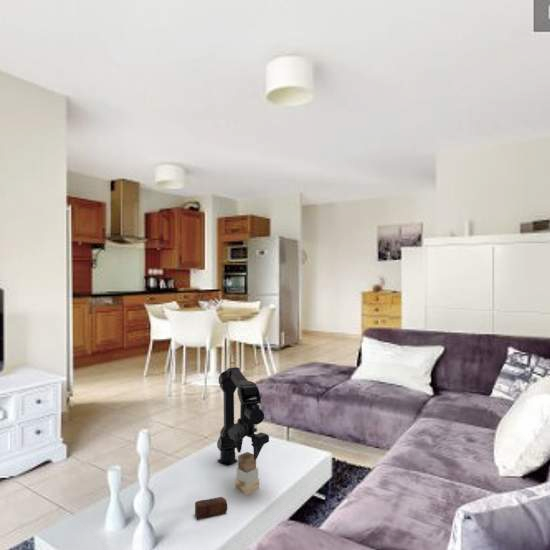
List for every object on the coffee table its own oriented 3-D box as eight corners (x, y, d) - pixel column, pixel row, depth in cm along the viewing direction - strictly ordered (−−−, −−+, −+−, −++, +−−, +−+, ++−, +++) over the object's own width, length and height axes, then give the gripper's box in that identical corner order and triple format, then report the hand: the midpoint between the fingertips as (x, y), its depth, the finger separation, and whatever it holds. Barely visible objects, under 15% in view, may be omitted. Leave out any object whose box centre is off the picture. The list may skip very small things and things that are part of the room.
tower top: (236, 478, 162) (236, 468, 162) (247, 473, 167) (247, 463, 167) (247, 483, 158) (247, 473, 158) (258, 478, 163) (258, 468, 163)
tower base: (235, 489, 162) (235, 478, 162) (247, 483, 167) (247, 473, 167) (246, 495, 158) (246, 484, 158) (258, 488, 162) (258, 478, 162)
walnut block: (238, 468, 162) (238, 455, 162) (247, 464, 166) (247, 451, 166) (246, 472, 159) (246, 459, 159) (256, 468, 163) (256, 455, 163)
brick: (197, 520, 141) (197, 507, 141) (194, 514, 145) (195, 501, 145) (227, 514, 145) (227, 500, 145) (224, 508, 149) (224, 495, 149)
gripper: (216, 415, 163) (215, 454, 163) (249, 427, 150) (248, 470, 150) (237, 408, 171) (236, 446, 171) (270, 419, 158) (269, 460, 158)
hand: (247, 455), depth 162 cm, fingers open, 9 cm apart
